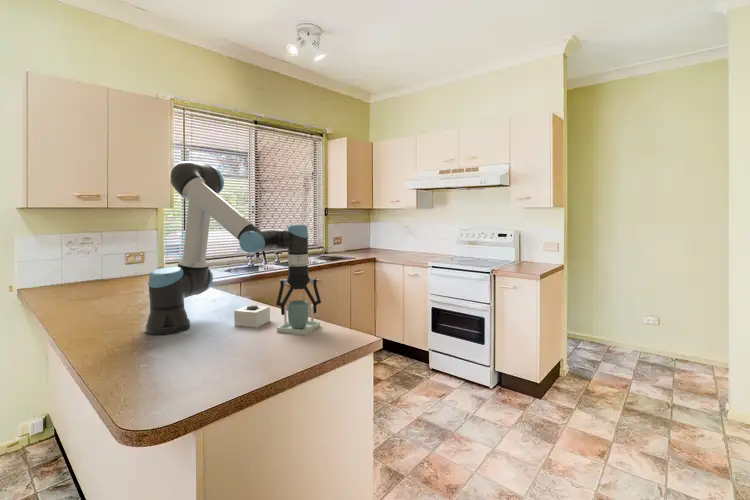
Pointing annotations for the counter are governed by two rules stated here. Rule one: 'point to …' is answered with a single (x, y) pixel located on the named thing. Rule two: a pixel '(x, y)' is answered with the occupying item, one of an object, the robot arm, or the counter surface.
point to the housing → (252, 316)
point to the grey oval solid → (252, 308)
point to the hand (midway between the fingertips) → (299, 322)
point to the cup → (298, 313)
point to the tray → (304, 331)
